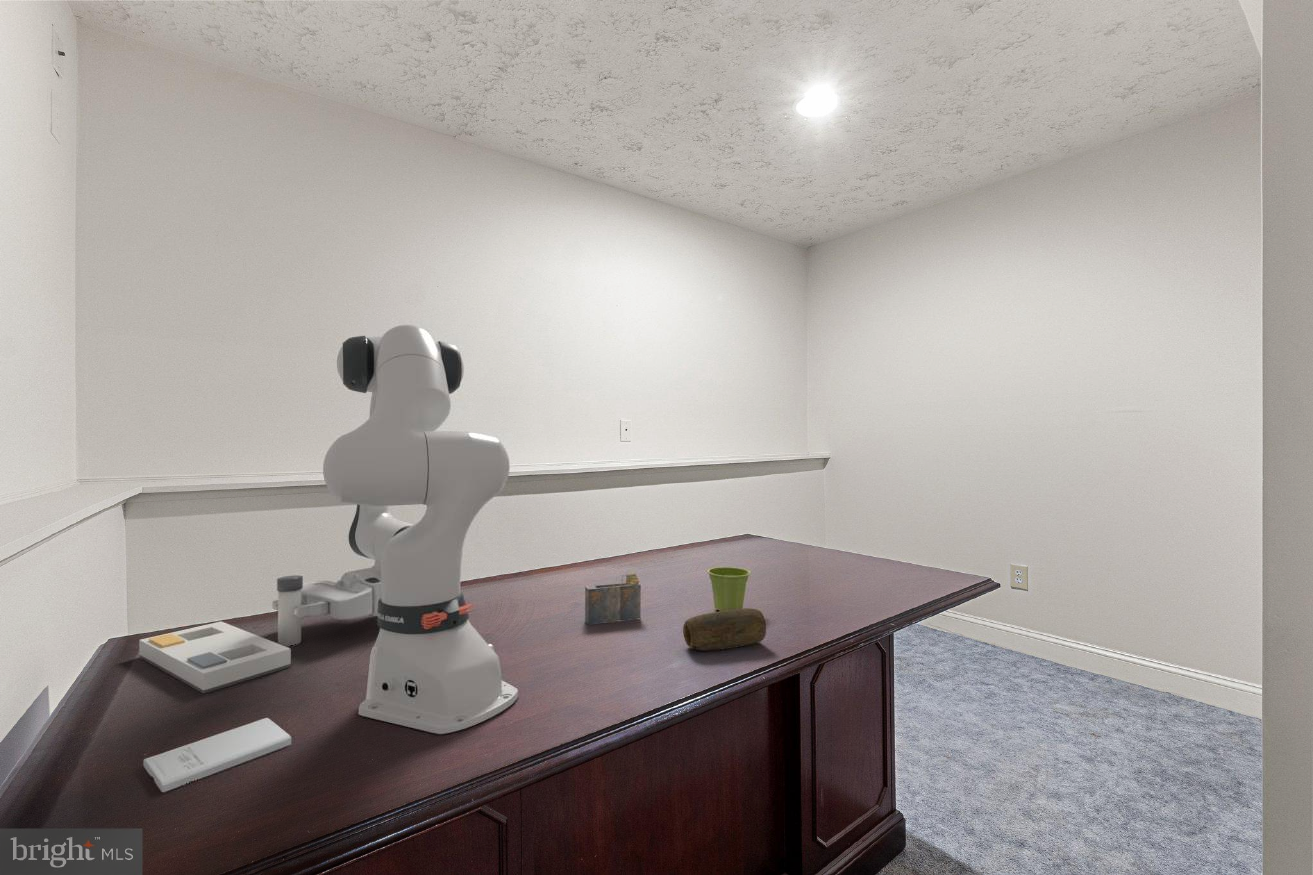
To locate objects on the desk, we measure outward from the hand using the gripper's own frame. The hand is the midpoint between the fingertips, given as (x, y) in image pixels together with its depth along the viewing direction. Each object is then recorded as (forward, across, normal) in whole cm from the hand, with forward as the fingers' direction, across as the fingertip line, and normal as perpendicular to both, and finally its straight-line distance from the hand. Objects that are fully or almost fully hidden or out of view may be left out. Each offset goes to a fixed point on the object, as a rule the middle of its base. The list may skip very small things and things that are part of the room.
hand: (284, 608), depth 106 cm
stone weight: (-43, +68, +7) cm, 81 cm away
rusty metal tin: (-45, +42, +7) cm, 61 cm away
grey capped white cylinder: (-1, 0, +6) cm, 7 cm away
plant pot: (-64, +59, +7) cm, 88 cm away
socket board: (+11, -1, +6) cm, 12 cm away
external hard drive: (+22, +33, +7) cm, 41 cm away
